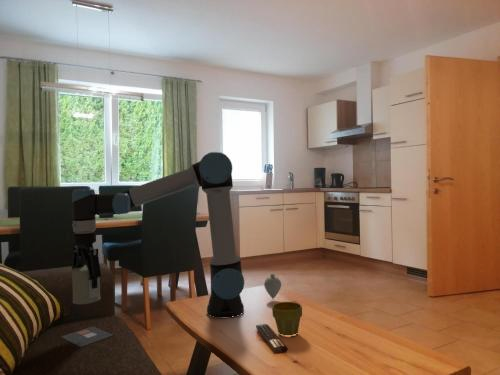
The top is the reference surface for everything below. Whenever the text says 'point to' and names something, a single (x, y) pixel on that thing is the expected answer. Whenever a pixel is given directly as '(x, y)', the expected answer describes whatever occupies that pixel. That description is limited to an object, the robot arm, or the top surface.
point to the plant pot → (287, 317)
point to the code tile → (86, 336)
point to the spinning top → (272, 285)
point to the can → (82, 286)
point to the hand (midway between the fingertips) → (86, 295)
